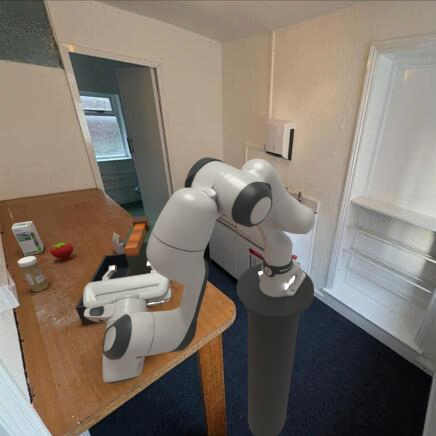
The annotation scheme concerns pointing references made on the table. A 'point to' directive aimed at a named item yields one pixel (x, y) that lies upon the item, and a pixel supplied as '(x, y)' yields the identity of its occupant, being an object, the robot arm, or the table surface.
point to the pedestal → (139, 256)
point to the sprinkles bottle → (33, 273)
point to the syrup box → (27, 238)
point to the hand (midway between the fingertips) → (132, 263)
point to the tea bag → (117, 244)
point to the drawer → (107, 261)
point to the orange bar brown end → (137, 235)
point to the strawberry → (62, 250)
